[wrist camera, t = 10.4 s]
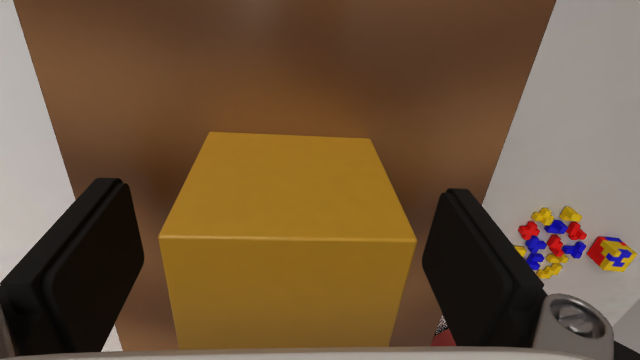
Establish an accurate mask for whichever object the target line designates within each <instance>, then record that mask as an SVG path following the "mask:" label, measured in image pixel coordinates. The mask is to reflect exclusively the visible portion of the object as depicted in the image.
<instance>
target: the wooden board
mask: <svg viewBox="0 0 640 360" xmlns="http://www.w3.org/2000/svg"><path fill="white" fill-rule="evenodd" d="M13 1H14V5H15V8H16V11H17V14H18V17H19V21H20V24H21V27H22V30H23V33H24V36H25V40H26V43H27V46H28V49H29V52H30V56H31V59H32V62H33V65H34V68H35V72H36V75H37V78H38V81H39V84H40V88H41V91H42V94H43V97H44V100H45V103H46V107H47V110H48V113H49V116H50V119H51V123H52V126H53V129H54V132H55V135H56V139H57V142H58V145H59V148H60V151H61V155H62V158H63V161H64V164H65V167H66V170H67V174H68V177H69V180H70V183H71V186H72V190H73V193H74V196H75V199H76V200H77V198H78V197H79V196H80V195H81V194H82V193H83V192H84V191H85V190H86V189H87V187H88V186H89V185H90V184H91V183H92V182H93V181H94V180H95V179H96V178H120V179H121V180H122V181H123V183H127V184H128V185H129V187H130V192H131V196H132V201H133V205H134V210H135V214H136V219H137V223H138V228H139V232H140V237H141V241H142V246H143V250H144V264H143V267H142V269H141V271H140V273H139V275H138V277H137V279H136V281H135V283H134V285H133V287H132V289H131V291H130V293H129V295H128V297H127V299H126V302H125V304H124V306H123V308H122V310H121V312H120V314H119V316H118V318H117V320H116V322H115V327H116V330H117V333H118V336H119V340H120V343H121V346H122V349H123V351H153V350H179V346H178V340H177V335H176V330H175V324H174V319H173V314H172V309H171V303H170V298H169V293H168V287H167V282H166V277H165V271H164V266H163V261H162V255H161V250H160V245H159V239H158V236H159V234H160V232H161V230H162V228H163V225H164V223H165V221H166V219H167V217H168V215H169V213H170V211H171V209H172V207H173V205H174V203H175V201H176V199H177V197H178V195H179V193H180V191H181V189H182V187H183V185H184V183H185V181H186V179H187V177H188V175H189V172H190V170H191V168H192V166H193V164H194V162H195V160H196V158H197V156H198V154H199V152H200V150H201V148H202V146H203V144H204V142H205V140H206V138H207V136H208V134H209V132H229V133H252V134H275V135H298V136H321V137H344V138H367V139H371V141H372V144H373V146H374V148H375V150H376V152H377V154H378V156H379V159H380V161H381V163H382V165H383V167H384V169H385V171H386V174H387V176H388V178H389V180H390V182H391V184H392V187H393V189H394V191H395V193H396V195H397V197H398V199H399V202H400V204H401V206H402V208H403V210H404V212H405V215H406V217H407V219H408V221H409V223H410V225H411V227H412V230H413V232H414V234H415V236H416V238H417V245H416V248H415V252H414V256H413V259H412V263H411V267H410V270H409V274H408V278H407V281H406V285H405V289H404V292H403V296H402V299H401V303H400V307H399V310H398V314H397V318H396V321H395V325H394V329H393V332H392V336H391V340H390V343H389V347H422V346H431V343H432V340H433V337H434V335H435V332H436V329H437V326H438V324H439V321H440V318H441V315H442V311H441V309H440V307H439V304H438V302H437V300H436V298H435V295H434V293H433V291H432V288H431V286H430V284H429V282H428V279H427V277H426V275H425V272H424V270H423V267H422V255H423V252H424V249H425V245H426V242H427V238H428V235H429V231H430V228H431V225H432V221H433V218H434V214H435V211H436V207H437V204H438V201H439V197H440V195H441V193H445V192H446V190H447V189H449V188H461V189H468V190H469V191H470V192H471V193H472V194H473V196H474V197H475V198H476V199H477V201H478V202H479V203H480V204H481V206H482V203H483V200H484V197H485V195H486V192H487V189H488V187H489V184H490V181H491V178H492V176H493V173H494V170H495V167H496V165H497V162H498V159H499V156H500V154H501V151H502V148H503V145H504V143H505V140H506V137H507V134H508V132H509V129H510V126H511V123H512V121H513V118H514V115H515V112H516V110H517V107H518V104H519V101H520V99H521V96H522V93H523V90H524V88H525V85H526V82H527V79H528V77H529V74H530V71H531V69H532V66H533V63H534V60H535V58H536V55H537V52H538V49H539V47H540V44H541V41H542V38H543V36H544V33H545V30H546V27H547V25H548V22H549V19H550V16H551V14H552V11H553V8H554V5H555V3H556V0H13Z"/></svg>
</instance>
